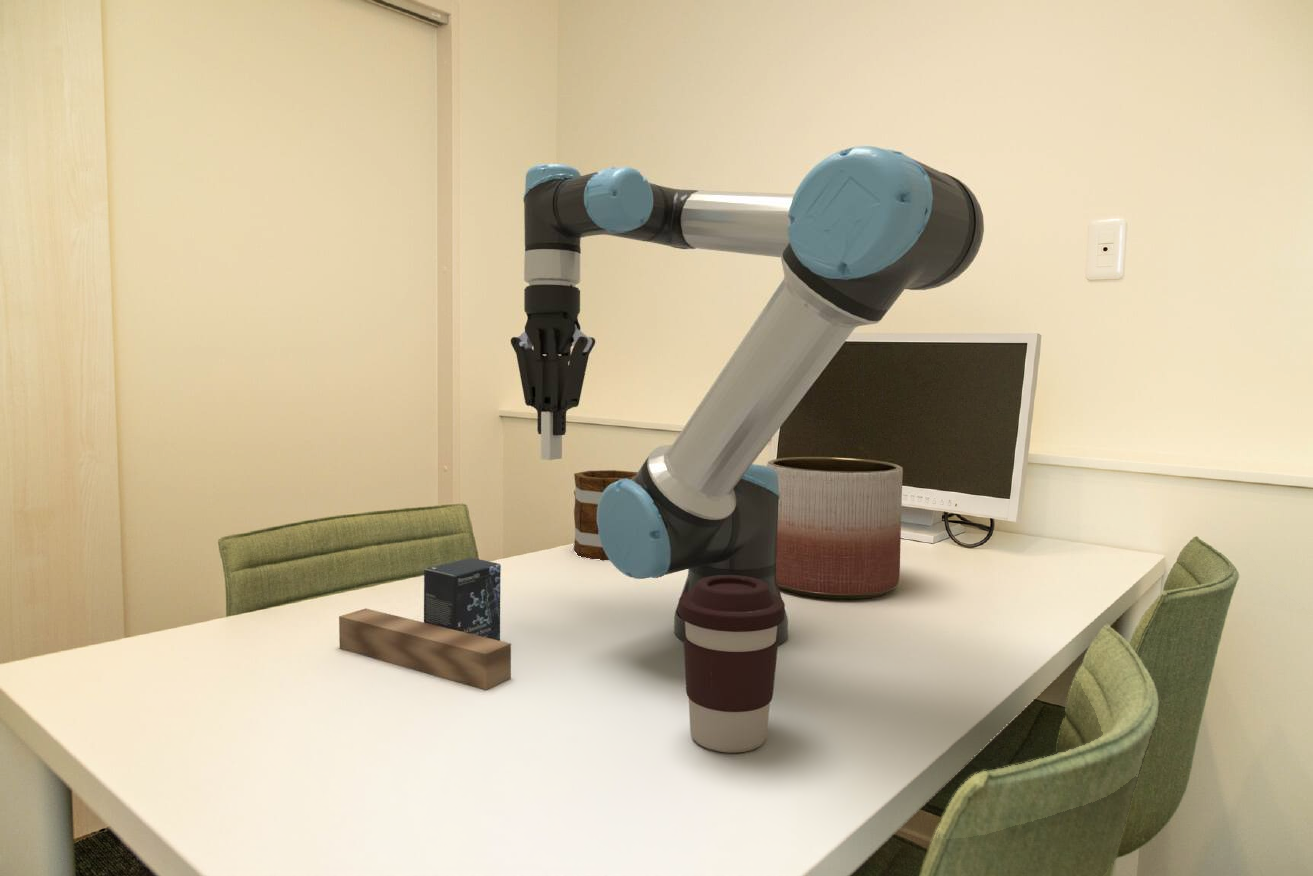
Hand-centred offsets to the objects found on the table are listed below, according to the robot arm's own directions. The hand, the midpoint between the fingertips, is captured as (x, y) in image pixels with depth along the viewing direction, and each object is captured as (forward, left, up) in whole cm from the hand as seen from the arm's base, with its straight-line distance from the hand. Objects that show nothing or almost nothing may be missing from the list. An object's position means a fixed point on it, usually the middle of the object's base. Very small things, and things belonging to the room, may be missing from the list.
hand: (551, 458), depth 111 cm
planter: (-27, -40, -23) cm, 53 cm away
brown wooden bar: (+2, +22, -22) cm, 31 cm away
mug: (+13, -37, -23) cm, 45 cm away
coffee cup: (-37, +20, -23) cm, 48 cm away
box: (+1, +16, -23) cm, 28 cm away
